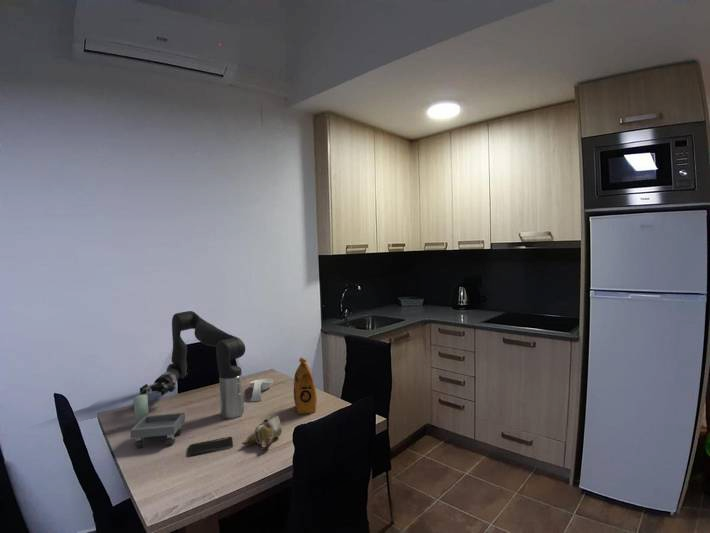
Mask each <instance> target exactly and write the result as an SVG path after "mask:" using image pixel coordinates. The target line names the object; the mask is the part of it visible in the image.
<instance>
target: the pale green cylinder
mask: <svg viewBox="0 0 710 533" xmlns="http://www.w3.org/2000/svg"><path fill="white" fill-rule="evenodd" d="M148 395H149V394H148V393H147V394H142V395H140V394H138V395H134V397H133V408H134V409H133V411H134V426H135V425H136V424H137V423H138V422H139V421H140V420H141V419H142V418H143V417H144V416H150V415H149V398H148Z"/></svg>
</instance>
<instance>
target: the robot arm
mask: <svg viewBox="0 0 710 533" xmlns="http://www.w3.org/2000/svg"><path fill="white" fill-rule="evenodd" d="M188 330H194V336H195V339H196V340H197V341H198V342H200V343H202V344H203V345H205V346H209V347H215V348H216V349H215V351H216V352H215V353H216V355H215V356H216V361H217V362H216V363H217V371H218V376H219V397H220V398H219V400H220V417H221V418H223V419H235V418H238V417H242V416H243V414H244V413H245V412H244V411H245V401H244V389H243V384H242V383H243V379H242V376H243V375H242V368H241V367H240V366H237V365H231V361H233V360H236V359H239V358H241V357H243V356H244V355H245V353H246V345H245V343H244V342H243V340H242V339H240V338H239V337H237V336H235V335H232V334H229V333H228V332H226V331H224V330H222V329H219V328H218V327H216V326H215V325H214V324H211V323H210V322H208V321H206V320H204V319H203V317H201V316H200V315H199V314H197V313H196V312H195V311H193V310H192V311H191V310H188V311H182V312H177V313H174V314H173V315H172V318H171V333H172V334H171V335H172V338H171V339H172V351H171V359H170V360H171V363H169V364H168V366H167V367H166V370H165V372H164V373H162V374H160V375H159V376H158V377H157V378H156V379H155V380H154V382H153V383H152V384H150V385H148V384H147V383H145V384H144V385H143V386H141V387H140V388H139V395H142V394H147V395H148V394H152V393H157V392H158V393H160V396H164V395H165V394H168V393H172V392H174V390H176V382H177V381H178V380H179V378H183V379H185V378H186V377H187V376H188V373H187V366H188V363H187V362H188V361H187V355H188V354H187V353H188V346H187V343H186V342H185V341H184V339H183V338H182V337H181V333H182V332H183V331H188ZM176 365H178V366H179V367H177V366H176ZM186 375H187V376H186ZM185 376H186V377H185ZM184 377H185V378H184Z"/></svg>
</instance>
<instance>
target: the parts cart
mask: <svg viewBox="0 0 710 533" xmlns="http://www.w3.org/2000/svg"><path fill="white" fill-rule="evenodd" d="M185 422H186V413H185V412H180V413H166V414H152V415H149V416H144V417H143V418H142V419H141V420H140V421H139V422H138V423H137V424H136V425H135V424H134V426H133V427H132V428H131V429H130V430H129V432H130V439H135V442H134V447H136V448H137V449H139V448H142V447H143V446H144V445H145V440H144V439H143V438H150V437H160V436H161V437H162V436H163V437H164V436H167V437H166V445H168V446H170V445H174V444H175V442H176V437H175V435H177V436H178V435H180V434H182V433H183V427H182V425H183V424H184V423H185Z"/></svg>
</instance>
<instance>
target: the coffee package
mask: <svg viewBox="0 0 710 533" xmlns="http://www.w3.org/2000/svg"><path fill="white" fill-rule="evenodd" d="M298 360H299V362H300V363H299V366H298V367H297V369H296V371H295V373H294V379H293V401H294V404H295V405H294V406H295V407H296V411H297V413H298V414H299V415H308V414H315V413H316V412H317V405H318V404H317V390H316V385H315V381H314V377H313V376H312V372H311V369H310V366H309V365H308V364H307V360H306V359H305V358H303V357H299V359H298Z"/></svg>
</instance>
